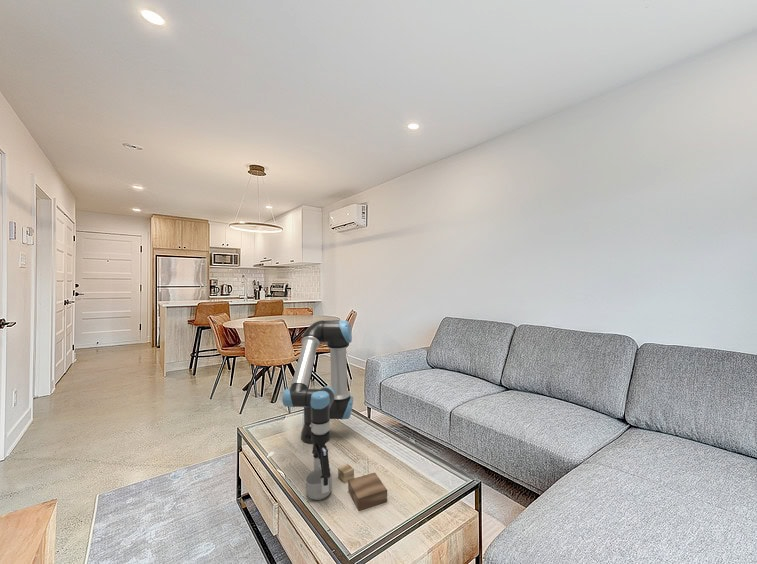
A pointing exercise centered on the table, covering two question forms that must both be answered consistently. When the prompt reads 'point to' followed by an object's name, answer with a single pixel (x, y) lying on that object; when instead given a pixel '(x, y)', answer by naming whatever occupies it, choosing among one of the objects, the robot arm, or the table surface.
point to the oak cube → (345, 473)
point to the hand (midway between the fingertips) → (320, 482)
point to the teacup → (316, 485)
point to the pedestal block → (367, 491)
